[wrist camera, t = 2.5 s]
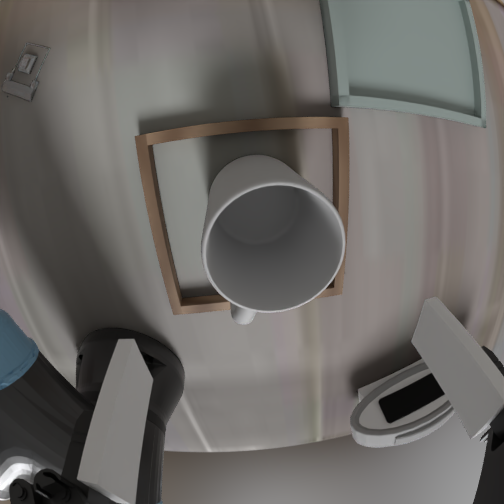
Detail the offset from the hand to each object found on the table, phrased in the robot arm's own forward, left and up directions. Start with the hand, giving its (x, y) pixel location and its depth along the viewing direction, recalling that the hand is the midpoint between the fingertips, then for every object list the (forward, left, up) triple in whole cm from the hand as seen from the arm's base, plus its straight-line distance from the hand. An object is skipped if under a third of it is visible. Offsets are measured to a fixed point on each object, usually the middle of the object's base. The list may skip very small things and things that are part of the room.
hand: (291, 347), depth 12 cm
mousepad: (-21, +16, -17) cm, 32 cm away
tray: (+18, +19, -17) cm, 31 cm away
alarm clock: (+24, -31, -17) cm, 43 cm away
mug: (0, 0, -17) cm, 17 cm away
